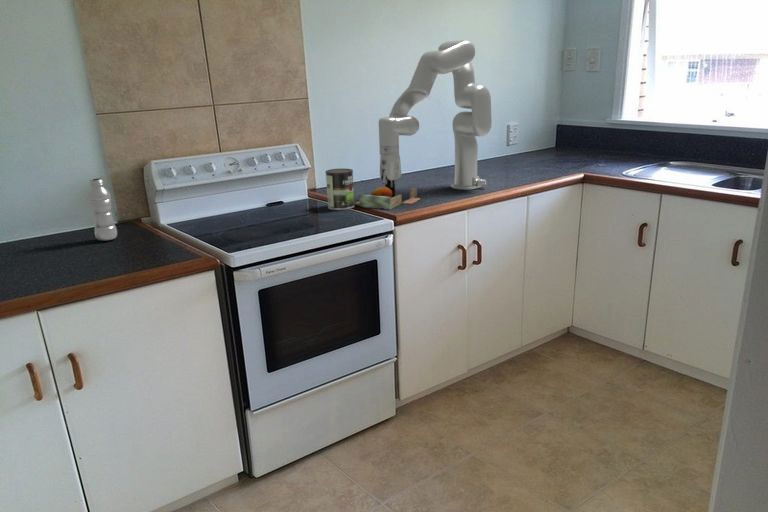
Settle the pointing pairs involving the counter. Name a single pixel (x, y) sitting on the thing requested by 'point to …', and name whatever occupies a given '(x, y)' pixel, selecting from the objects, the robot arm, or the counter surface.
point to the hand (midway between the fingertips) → (390, 196)
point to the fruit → (382, 192)
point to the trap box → (384, 200)
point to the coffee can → (340, 189)
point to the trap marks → (409, 201)
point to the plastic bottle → (102, 210)
